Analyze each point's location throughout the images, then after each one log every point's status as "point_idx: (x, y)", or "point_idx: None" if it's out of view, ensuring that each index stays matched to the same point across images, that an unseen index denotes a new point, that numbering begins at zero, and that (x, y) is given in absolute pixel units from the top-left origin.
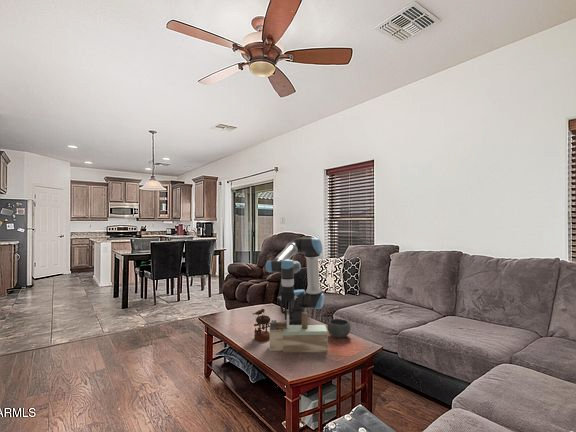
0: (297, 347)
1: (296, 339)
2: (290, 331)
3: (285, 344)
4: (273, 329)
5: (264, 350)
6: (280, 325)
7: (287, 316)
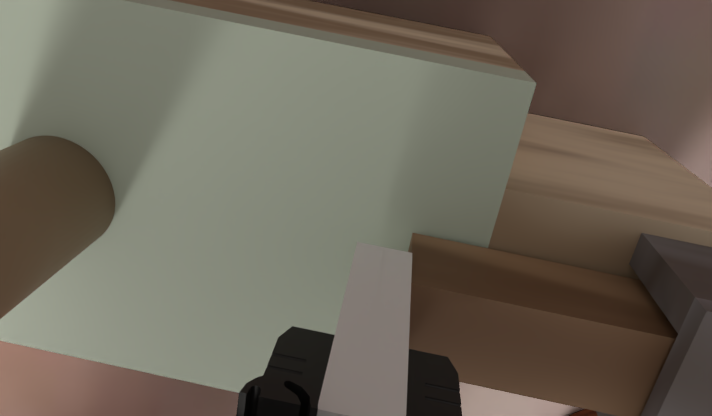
0: (293, 3)
1: (282, 14)
2: (370, 60)
3: (465, 41)
4: (704, 247)
5: (705, 159)
6: (555, 289)
7: (382, 384)
